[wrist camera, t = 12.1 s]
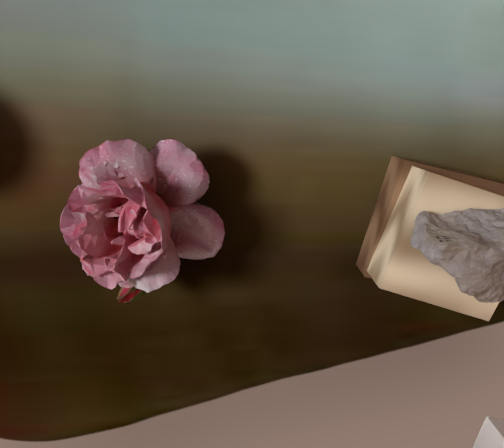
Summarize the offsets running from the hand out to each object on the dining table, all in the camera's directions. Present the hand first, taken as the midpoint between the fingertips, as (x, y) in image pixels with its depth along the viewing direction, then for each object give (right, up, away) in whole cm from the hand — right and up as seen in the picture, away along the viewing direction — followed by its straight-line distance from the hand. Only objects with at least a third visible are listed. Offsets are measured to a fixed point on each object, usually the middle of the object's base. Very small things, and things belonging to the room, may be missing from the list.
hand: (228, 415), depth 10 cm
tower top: (+19, +4, +29) cm, 35 cm away
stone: (+19, +3, +25) cm, 31 cm away
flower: (-10, +7, +31) cm, 33 cm away
